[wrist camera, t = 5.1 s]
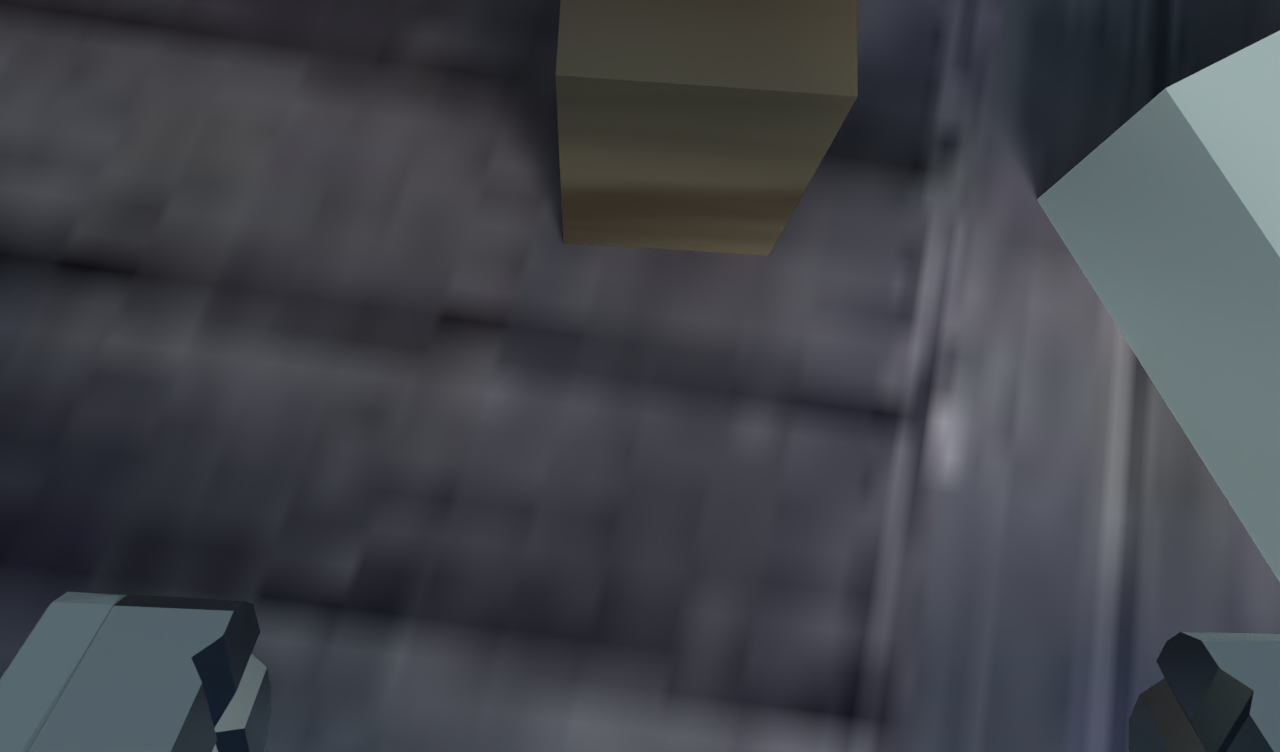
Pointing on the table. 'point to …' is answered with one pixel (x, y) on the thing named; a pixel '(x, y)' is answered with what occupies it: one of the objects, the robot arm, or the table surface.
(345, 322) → the table surface
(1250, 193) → the painted base block
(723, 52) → the walnut block
